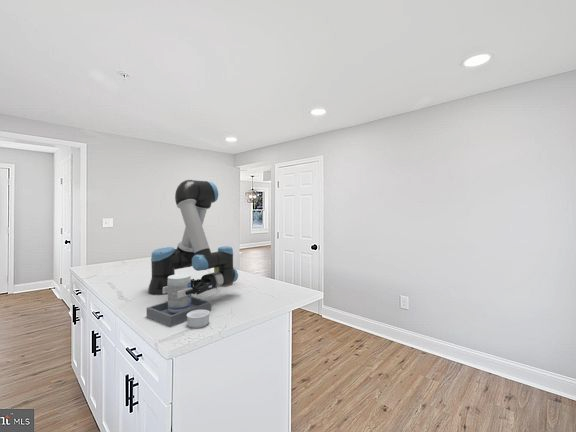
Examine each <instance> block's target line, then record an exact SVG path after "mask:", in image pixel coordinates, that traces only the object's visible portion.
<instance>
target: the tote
mask: <svg viewBox="0 0 576 432" xmlns="http://www.w3.org/2000/svg"><path fill="white" fill-rule="evenodd" d="M194 310H208V311H209V312H212V302H211V301H209V300H204V299H201V298H197V297H196V296H195V297H194V296H191V308H190V309H188V310H185V311H182V312H179V313H172V312H170V311H168V300H167V301H164V302H161V303H158V304H154V305H151V306H148V307H146V318H148V319H150V318H151V319H150V320H154V321H155V320H156V321H155V322H157V323H160V322H161V323H160V324H163V325H165V324H166V325H165V326H168V327H170V326H172V327H174V326H177V325H179V324H181V323H184V322H188V320H187V314H188V313H189V312H191V311H194Z"/></svg>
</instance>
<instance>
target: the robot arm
mask: <svg viewBox="0 0 576 432" xmlns="http://www.w3.org/2000/svg"><path fill="white" fill-rule="evenodd" d="M174 195H175V196H174V199H175V200H174V201H175V203H176V207H177V208H178V209H179V210H180V214H181V216H182V219H183V222H184V226H185V227H184V232H183V235H182V238H181V241H179V243H178V244H177V247H176V248H175V247H172V246H167V247H161V248H157V249H154V250H152V252H151V257H150V261H151V279H150V282H149V285H148V289H147V291H148V292H147V293H148V294H151V295H168V286H167V280H168V277H169V276H171V275H175V274H176V273H175V270H179V269H185V268H191V267H192V268H193V269H194V270H195V271H206V270H210V269H214V268H215V267H218V269H219V271H218V272H214V271H213V272H211V273H206V274H203V275H202V276H201V277H200V278H198V279H195V278H192V279H191V288H188V289H184V290H181V291H177V298H181V297H184V296H187V295H191V296H192V295H195V294H196V295H200V294H203V293H205V292H206V291H210V290H213V289H218V288H221V287H220V286H223V285H227V284H231V283H233V284H234V283H235V282H237V280H238V278H239V273H238V270H237V269H236V268H235V267H234V251H233V250H234V249H233V247H232V246H228V245H227V246H226V245H225V246H219V247H218V248H217V251H214V252H213V251H211V249H210V245H209V241H208V240H207V239H208V238H207V237H206V234H205V230H204V228H203V225H204V220H205V217H206V213H207V210H208V209H209V210H210V208H211V206H212V204H213V203H215V202H217V200H218V198H219V190H218V187H217V185H216V184H215V183H214V182H212V181H207V180H196V179H194V180H193V179H186V180H184V181H182V182H180V183H179V185H177V188H176V190H175V194H174Z"/></svg>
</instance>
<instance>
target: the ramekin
mask: <svg viewBox="0 0 576 432" xmlns="http://www.w3.org/2000/svg"><path fill="white" fill-rule="evenodd" d="M210 314H211V311H208V310H194V311H191V312H189V313H188V314H187V325H188V327H190V328H191V329H192V328H193V329H198V328H202V327H205V326H207V325H208V324H209V323H210Z"/></svg>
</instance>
